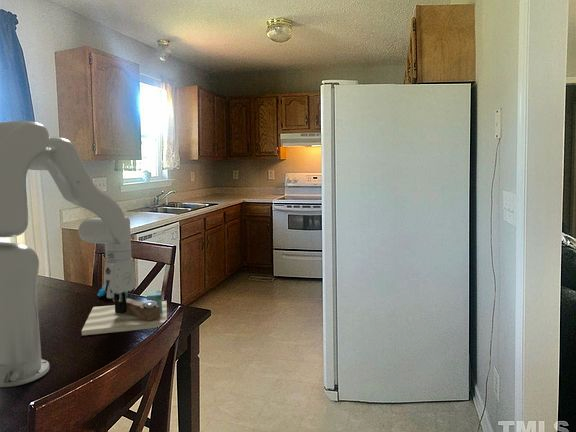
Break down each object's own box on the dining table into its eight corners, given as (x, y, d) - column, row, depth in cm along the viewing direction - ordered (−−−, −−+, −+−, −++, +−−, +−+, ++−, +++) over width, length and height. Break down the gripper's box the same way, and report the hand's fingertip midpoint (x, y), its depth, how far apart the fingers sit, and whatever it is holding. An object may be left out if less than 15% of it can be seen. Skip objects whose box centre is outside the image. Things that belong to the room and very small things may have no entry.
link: (160, 317, 137) (159, 306, 137) (148, 321, 134) (148, 309, 133) (125, 306, 147) (124, 296, 147) (114, 309, 144) (113, 299, 144)
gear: (97, 288, 171) (115, 269, 171) (109, 297, 173) (127, 278, 174) (94, 300, 161) (114, 280, 161) (107, 309, 163) (126, 290, 163)
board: (167, 326, 134) (167, 322, 134) (81, 335, 128) (81, 330, 128) (166, 304, 155) (166, 300, 155) (93, 311, 149) (93, 307, 149)
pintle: (156, 320, 135) (156, 304, 135) (143, 322, 134) (142, 306, 134) (157, 316, 139) (156, 300, 138) (143, 317, 138) (143, 302, 137)
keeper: (162, 312, 143) (161, 294, 142) (147, 313, 142) (146, 296, 141) (162, 307, 148) (161, 290, 147) (148, 308, 146) (147, 291, 146)
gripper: (111, 260, 129) (114, 321, 131) (143, 252, 143) (145, 306, 145) (91, 259, 131) (93, 318, 133) (124, 250, 145) (126, 304, 147)
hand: (120, 312), depth 139 cm, fingers closed
